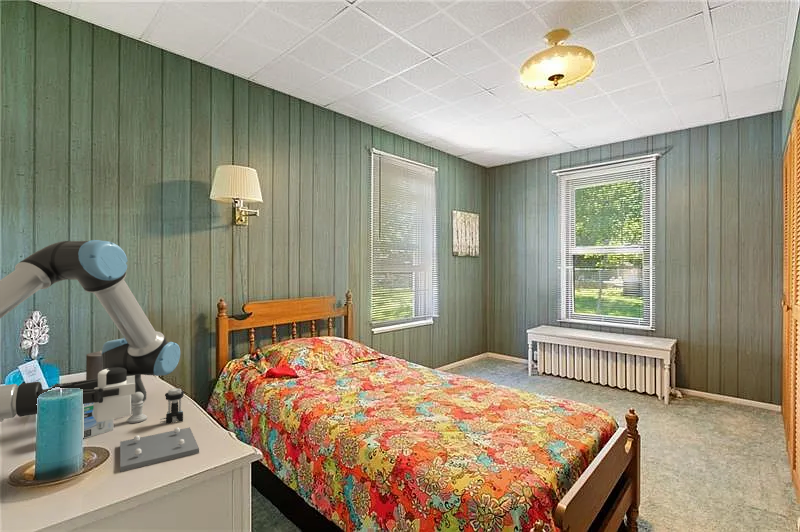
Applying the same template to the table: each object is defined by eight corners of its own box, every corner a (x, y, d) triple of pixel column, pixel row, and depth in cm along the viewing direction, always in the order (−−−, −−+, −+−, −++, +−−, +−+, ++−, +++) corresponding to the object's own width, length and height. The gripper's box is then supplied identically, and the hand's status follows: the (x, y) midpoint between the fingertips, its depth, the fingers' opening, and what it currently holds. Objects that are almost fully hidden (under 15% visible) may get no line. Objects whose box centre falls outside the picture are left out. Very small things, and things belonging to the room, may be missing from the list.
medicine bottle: (126, 408, 108) (126, 364, 108) (131, 415, 103) (131, 369, 103) (93, 415, 103) (93, 368, 103) (96, 423, 98) (96, 374, 98)
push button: (159, 426, 123) (159, 394, 123) (160, 421, 127) (160, 389, 127) (184, 422, 126) (184, 391, 126) (184, 417, 130) (184, 386, 130)
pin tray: (120, 446, 109) (120, 434, 109) (189, 431, 119) (189, 420, 119) (120, 471, 95) (120, 458, 95) (199, 452, 105) (199, 440, 105)
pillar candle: (79, 388, 162) (80, 351, 162) (103, 382, 171) (104, 347, 171) (97, 391, 159) (97, 353, 159) (121, 384, 168) (121, 348, 168)
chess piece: (134, 417, 131) (135, 389, 131) (151, 417, 130) (151, 389, 130) (123, 423, 125) (123, 394, 125) (139, 423, 125) (139, 394, 125)
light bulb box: (71, 443, 111) (71, 404, 111) (61, 437, 115) (62, 400, 115) (115, 429, 120) (115, 394, 120) (104, 425, 124) (105, 390, 124)
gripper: (27, 404, 102) (134, 388, 114) (6, 431, 85) (135, 409, 97) (27, 374, 102) (134, 362, 115) (6, 396, 85) (135, 379, 97)
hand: (134, 384), depth 106 cm, fingers closed on medicine bottle, 8 cm apart
